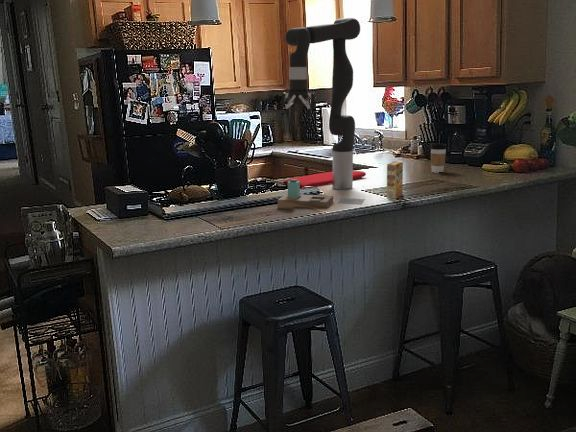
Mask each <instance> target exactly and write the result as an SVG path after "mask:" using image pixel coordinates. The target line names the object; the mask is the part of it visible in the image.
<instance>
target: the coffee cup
mask: <svg viewBox="0 0 576 432" xmlns="http://www.w3.org/2000/svg"><path fill="white" fill-rule="evenodd" d="M447 149H448V147H447V143H436V142H435V143H433V142H432V143H430V163H431V164H430V165H431V173H432V172H434V173H433V174H440V173H439V172H443V173H444V167H445V163H446V155H447V153H446V152H447Z"/></svg>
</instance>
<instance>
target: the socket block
mask: <svg viewBox="0 0 576 432" xmlns="http://www.w3.org/2000/svg"><path fill="white" fill-rule="evenodd" d="M333 202H334V195H322V194H321V195H319V194H318V195H317V194H301V193H300V198H299V199H297V198H288V193H285V194H284V195H282V196H281V197H280V198H278V199H277V209H287V210H288V209H289V210H293V209H294V208H310V209H311V208H313V209H328V207H330V206H331V204H333Z"/></svg>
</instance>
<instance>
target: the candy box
mask: <svg viewBox="0 0 576 432" xmlns="http://www.w3.org/2000/svg"><path fill="white" fill-rule="evenodd" d="M403 176H404V162H403V161H399V160H398V161H392V162H390V163H387V165H386V198H387V199H398V198H399V197H401V196H403V185H404V184H403V181H404V180H403V179H404V177H403Z"/></svg>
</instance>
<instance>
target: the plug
mask: <svg viewBox="0 0 576 432" xmlns="http://www.w3.org/2000/svg"><path fill="white" fill-rule="evenodd" d="M288 181H289V180H288ZM300 189H301V188H300V181H297V179H291V180H290V181H289V182H288V185H287V194H288V198H297V199H299V198H300V194H301V193H300V191H301V190H300Z"/></svg>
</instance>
